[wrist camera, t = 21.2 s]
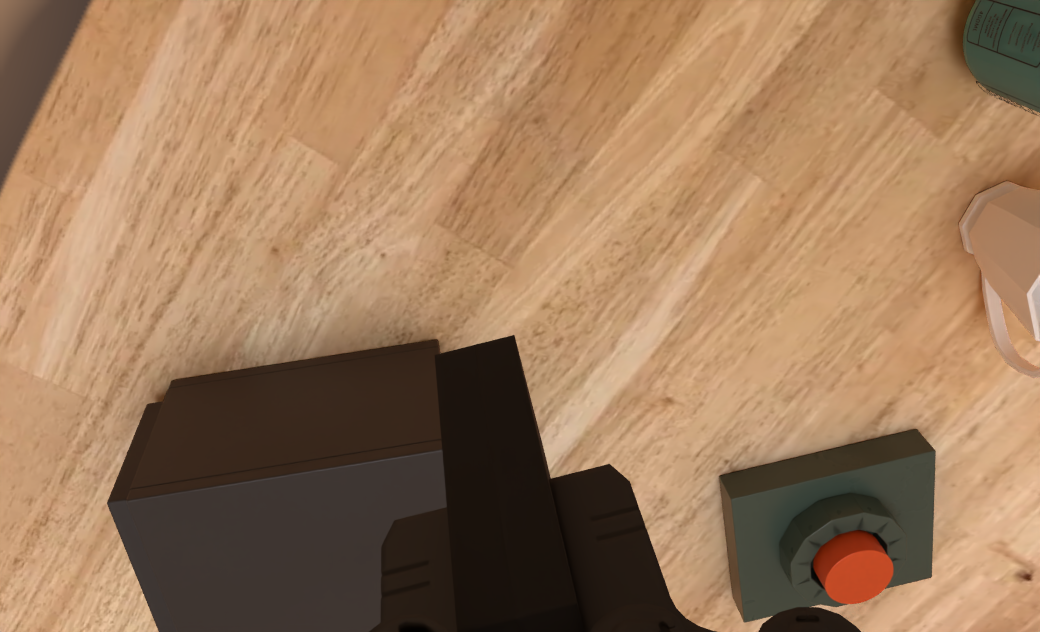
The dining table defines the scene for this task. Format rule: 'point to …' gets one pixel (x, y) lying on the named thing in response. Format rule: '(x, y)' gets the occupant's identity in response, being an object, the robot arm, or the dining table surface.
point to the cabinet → (288, 488)
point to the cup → (1007, 261)
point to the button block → (826, 518)
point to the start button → (853, 567)
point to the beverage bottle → (1005, 49)
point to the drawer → (128, 526)
